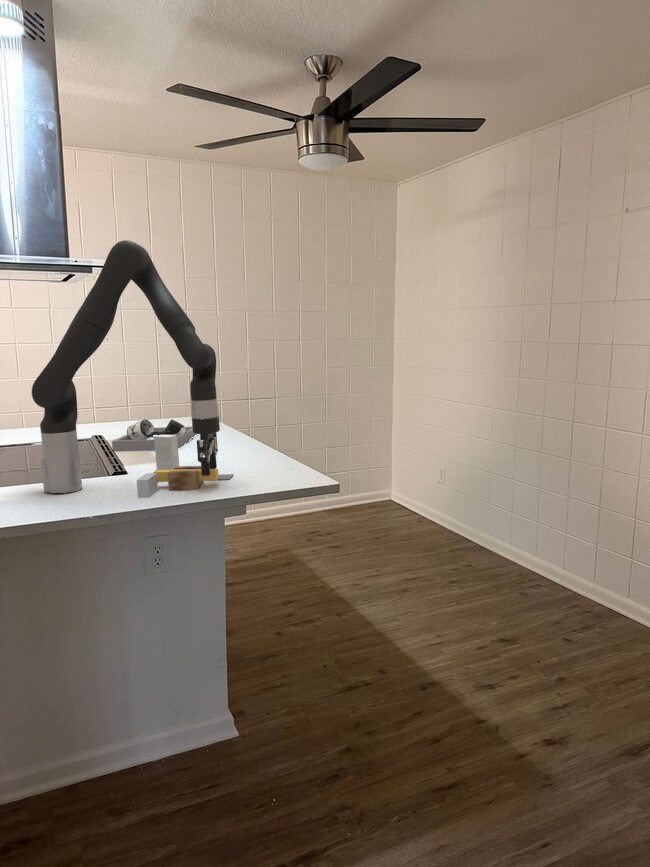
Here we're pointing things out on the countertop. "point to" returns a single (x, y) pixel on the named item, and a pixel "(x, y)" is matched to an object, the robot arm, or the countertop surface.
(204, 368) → the robot arm
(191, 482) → the cradle
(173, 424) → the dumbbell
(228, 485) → the countertop surface
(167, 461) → the skincare box
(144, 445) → the bucket corral
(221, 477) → the mat
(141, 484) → the gray rectangular block
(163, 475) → the yellow bar
